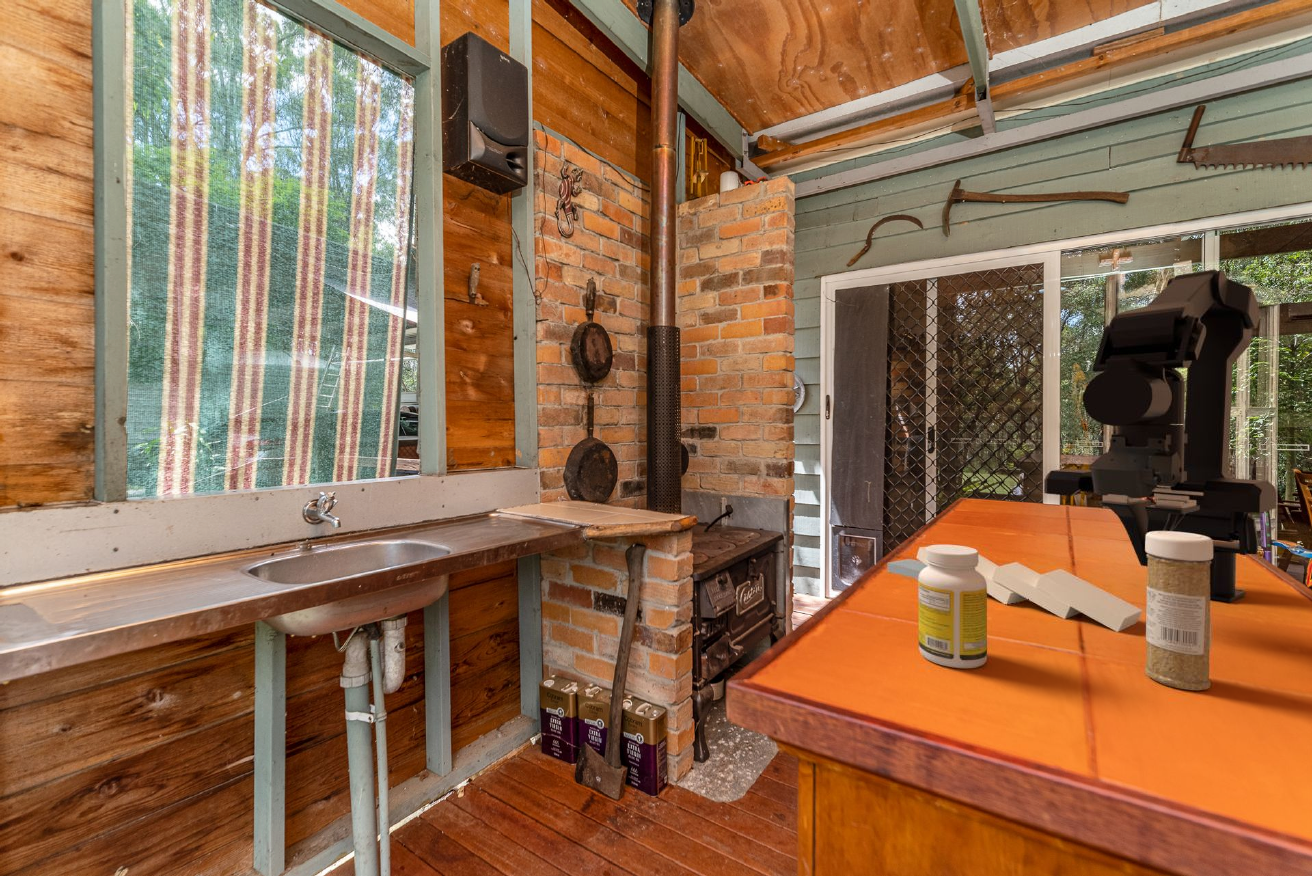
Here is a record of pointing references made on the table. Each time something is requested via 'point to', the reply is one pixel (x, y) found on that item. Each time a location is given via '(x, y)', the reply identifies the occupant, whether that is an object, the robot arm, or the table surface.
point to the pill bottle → (952, 608)
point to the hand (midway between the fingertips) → (1147, 565)
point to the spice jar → (1178, 609)
